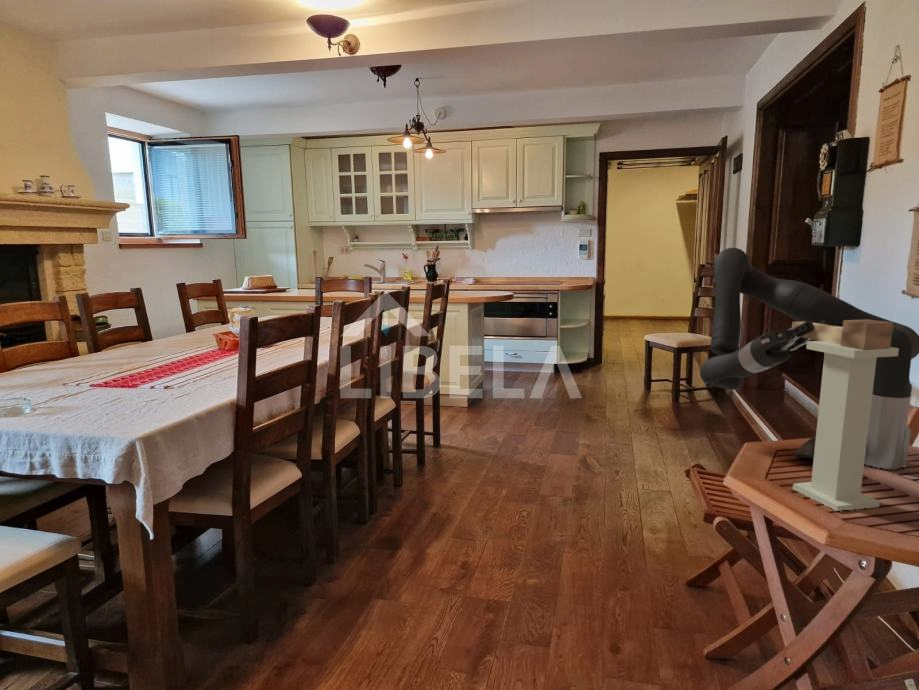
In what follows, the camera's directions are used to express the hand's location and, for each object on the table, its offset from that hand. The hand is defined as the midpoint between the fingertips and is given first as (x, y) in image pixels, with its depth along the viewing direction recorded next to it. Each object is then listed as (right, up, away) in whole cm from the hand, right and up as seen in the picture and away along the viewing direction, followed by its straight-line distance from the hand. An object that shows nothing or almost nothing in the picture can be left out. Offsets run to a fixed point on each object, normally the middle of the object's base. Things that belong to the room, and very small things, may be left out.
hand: (818, 324), depth 117 cm
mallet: (+1, -3, -3) cm, 5 cm away
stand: (+2, -36, -2) cm, 36 cm away
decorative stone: (+14, -32, +22) cm, 41 cm away
